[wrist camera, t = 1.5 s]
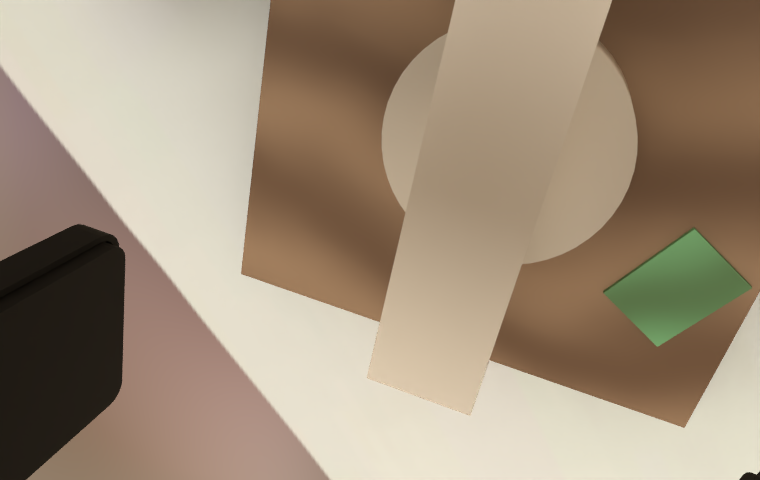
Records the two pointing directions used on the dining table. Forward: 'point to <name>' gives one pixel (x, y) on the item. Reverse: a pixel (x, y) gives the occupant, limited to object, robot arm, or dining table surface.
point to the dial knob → (494, 178)
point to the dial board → (558, 274)
